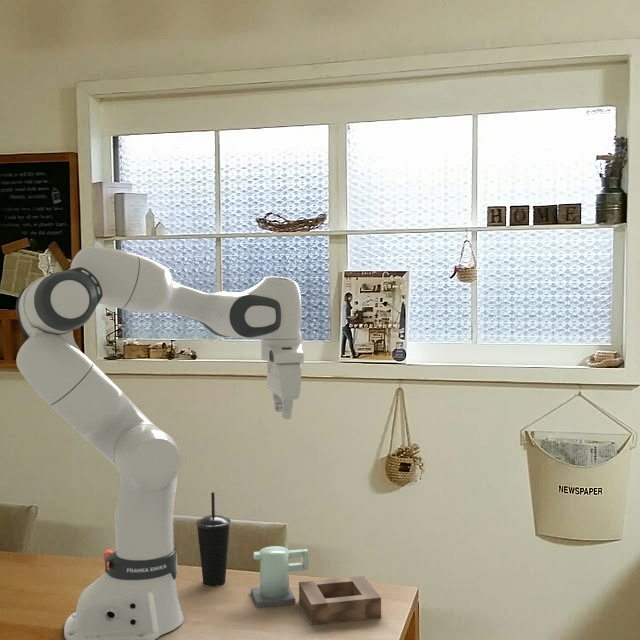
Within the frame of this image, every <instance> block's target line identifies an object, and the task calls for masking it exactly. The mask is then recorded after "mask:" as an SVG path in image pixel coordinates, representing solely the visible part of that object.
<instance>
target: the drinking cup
mask: <svg viewBox="0 0 640 640" xmlns="http://www.w3.org/2000/svg"><path fill="white" fill-rule="evenodd" d="M210 495H211V497H210V498H211V499H210V500H211V514H210V515H209V514H208V515H206V516H203V517H201V518H199V519H197V520H196V521H195V526H196V527H197V538H198V545H199V557H200V564H201V565H200V566H201V574H202V575H201V576H202V584H203V583H204V584H205V585H204V584H203V585H204V586H206V585H208V586H207V587H218V586H217V585H219V586H222V585H224V584H225V583H226V579H227V578H226V577H227V576H226V575H227V563H228V549H229V538H230V525H231V524H232V523H231V522H232V520H231V519H230V518H228V517H226V516H223V515H220V514H216V512H215V511H216V508H215V503H216V502H215V492H211V493H210ZM221 584H222V585H221Z"/></svg>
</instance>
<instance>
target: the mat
mask: <svg viewBox="0 0 640 640" xmlns="http://www.w3.org/2000/svg"><path fill="white" fill-rule="evenodd" d="M250 593H251V596H252V599H253V600H254V601H253V602H254V603H255V606H256V608H264V607H266V608H267V607H274V606H285V605H292V604H296V597H295V595H294V593H293V591H292V589H291V588H290V586H289V595H287V596H286V597H283V598H278V599H269V598H265V597H263V596H261V594H260V587H251V588H250Z"/></svg>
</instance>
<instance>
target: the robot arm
mask: <svg viewBox="0 0 640 640" xmlns="http://www.w3.org/2000/svg"><path fill="white" fill-rule="evenodd" d="M71 261H72V262H71V263H70V268H69V269H65V270H61V271H56V272H53V273H52V274H49V275H48V274H47V275H44V276H43V275H42V276H41V277H38V278H37V279H35V280H34V281H32V282H31V283H30V284H28V285H26V286H25V287H24V288H23V289H22V290H21V291H20V293H19V294H18V297H17V298H16V299H17V300H16V304H15V313H16V317H17V320H18V323H19V326H20V330H21V334H22V337H23V339H24V340H25V342H24V343H23V344H22V345H21V347H20V348H19V350H18V352H17V355H16V367H17V368H18V370H19V372H20V374H21V375H22V376H23V378H24V379H25V380H26V382H27V383H28V384H29V386H30V387H31V388H32V390H34V392H36V394H38V396H39V397H40V398H41V399H42V400H43V402H45V403H46V404H47V405H48V406H49V407H50V408H51V409H52V410H53V411H54V412H55V413H57V414H58V415H59V416H60V417H61V418H62V419H63V420H64V421H65V422H66V423H67V424H68V425H69V426H71V428H72V429H74V431H75V432H77V433H78V434H79V435H80V436H81V437H82V438H84V440H85V441H87V442H88V443H89V444H90V446H92V447H93V448H94V449H96V450H97V451H98V453H99V454H101V455H102V456H103V457H105V459H106V460H107V461H108V462H109V463H110V464H112V465H113V466H114V467H115V468H116V470H117V471H118V475H119V483H118V485H119V486H118V493H117V495H118V496H117V503H116V507H115V512H114V525H115V526H114V529H115V532H114V534H115V536H114V537H115V551H113V550H112V549H111V548H110V549H105V550H104V552H103V557H102V558H103V560H104V568H105V572H104V573H103V574H101V575H100V576H99V577H98V578H97V579H96V580H94V581H93V582H92V583H91V584H89V585H88V586H87V587H86V588H84V590H82V592H81V594H80V596H79V598H78V601H77V603H76V609H75V611H74V612H73V613H72V614H70V615H69V616H68V617H67V618H66V621H65V623H64V629H63V637H64V639H65V640H156V639H158V638H159V637H161V636H163V635H164V634H167V633H169V632H171V631H174V630H175V629H177V628H179V627H180V626H181V624H183V622H184V620H185V618H184V617H185V616H184V614H183V611H182V608H181V604H180V601H179V595H178V589H177V587H178V586H177V582H176V579H177V574H178V554H177V551H176V549H177V548H176V547H175V545H174V538H175V537H174V507H175V506H174V505H175V498H176V491H177V487H178V486H177V484H178V477H179V473H180V470H181V465H182V457H181V453H180V450H179V447H178V445H177V443H176V441H175V440H174V438H172V436H170V435H169V433H166V432H165V431H163V430H162V429H161V428H159V427H158V426H156V425H155V423H153V422H152V421H151V420H150V419H149V418H148V417H147V416H146V415H145V414H144V413H143V412H142V411H141V410H140V409H139V408H138V407H137V406H136V405H135V404H134V403H133V402H132V400H131V399H130V398H129V397H128V396H127V395H126V394H125V392H123V391H122V389H121V388H120V387H119V386H118V385H117V384H115V383H114V382H113V380H111V378H109V376H107V375H106V374H105V373H104V372H103V371H102V369H100V368H99V367H98V366H97V365H96V364H95V363H94V362H93V360H91V359H90V358H89V357H88V356H87V355H86V354H85V353H83V351H81V349H80V348H79V346H78V344H77V343H76V341H75V338H74V330H77V329H80V327H82V326H84V325H85V324H86V323H87V322H88V321H89V320H90V318H91V317H92V316H93V314H94V312H95V310H96V309H97V306H98V305H99V304H101V305H108V306H110V307H114V308H117V309H120V310H123V311H124V310H125V311H129V312H133V313H140V314H150V315H151V314H152V315H153V314H157V313H164V312H165V313H170V314H174V315H176V316H180V317H183V318H187V319H191V320H194V321H197V322H198V323H200V324H201V325H203V327H204V328H206V329H207V330H208V331H209V332H211V333H212V334H214V335H215V336H218V337H222V338H230V337H231V338H236V339H237V338H239V339H245V340H246V339H247V340H249V339H254V338H257V337H260V338H261V339H260V340H261V341H260V342H261V343H260V345H261V346H260V348H261V350H260V351H261V360H262V361H266V362H267V363H266V364H267V365H266V366H267V367H266V385H267V388H268V390H270V391H272V398H273V399H272V400H273V406H274V407H273V408H274V411H275V412H276V413H281V417H282V418H283V419H284V420H291V419H292V411H293V405H294V400H298V399H299V398H300V396H301V395H300V394H301V386H302V385H301V384H302V364H303V363H304V362H305V355H304V354H305V353H304V351H303V334H302V330H301V322H302V318H303V315H302V314H303V312H302V311H303V309H302V298H301V296H302V295H301V290H300V287H299V285H298V283H297V282H296V281H295V280H293V279H292V278H288V277H283V276H275V275H270V276H269V275H268V276H265V277H264V278H263V279H262V280H261V281H260V282H259V283H257V284H256V285H254V286H253V287H251V288H249V289H247V290H243V291H242V292H232V291H226V290H225V291H216V292H211V293H208V292H203V291H200V290H199V289H198V290H197V289H194V288H192V287H189V286H184V285H182V284H180V283H178V282H176V281H174V280H173V278H172V274H171V273H170V271H169V269H168V268H167V267H166V266H164V265H162V264H160V263H158V262H157V261H155V260H153V259H150V258H148V257H145V256H143V255H139V254H136V253H133V252H130V251H125V250H121V249H117V248H111V247H105V246H96V245H90V246H89V245H87V246H85V247H83V248H82V249H80V250H78V252H77V253H76V254H75V256H74V257H73V259H72V260H71Z"/></svg>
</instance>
